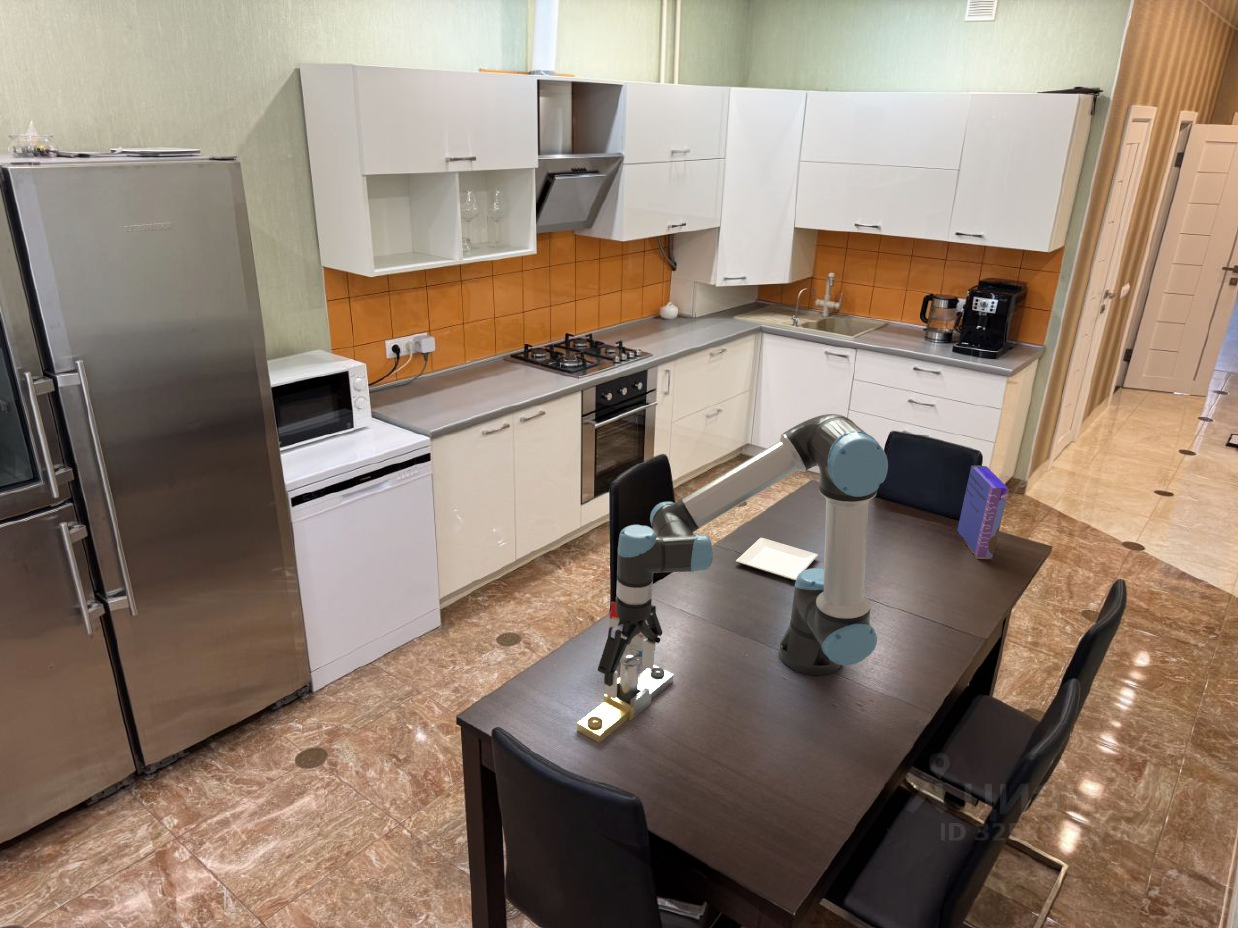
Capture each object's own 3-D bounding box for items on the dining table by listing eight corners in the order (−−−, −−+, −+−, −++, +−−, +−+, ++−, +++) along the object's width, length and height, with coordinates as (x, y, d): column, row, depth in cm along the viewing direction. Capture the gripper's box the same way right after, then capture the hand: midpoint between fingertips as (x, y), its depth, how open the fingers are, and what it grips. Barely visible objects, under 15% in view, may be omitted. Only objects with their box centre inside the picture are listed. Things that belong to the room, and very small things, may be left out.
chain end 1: (648, 705, 192) (649, 689, 190) (601, 744, 179) (602, 726, 178) (621, 692, 196) (622, 675, 194) (574, 728, 183) (574, 711, 182)
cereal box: (992, 560, 264) (1009, 488, 255) (976, 559, 264) (993, 487, 255) (971, 534, 280) (986, 465, 271) (956, 533, 280) (971, 465, 271)
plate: (817, 559, 259) (818, 553, 258) (794, 585, 244) (795, 579, 244) (759, 542, 268) (760, 536, 267) (734, 566, 253) (735, 560, 252)
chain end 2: (675, 682, 200) (677, 666, 198) (633, 718, 188) (634, 701, 186) (649, 670, 204) (650, 653, 202) (606, 703, 192) (607, 687, 190)
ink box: (646, 651, 211) (650, 599, 206) (640, 662, 207) (644, 609, 201) (614, 643, 214) (616, 591, 208) (607, 654, 209) (609, 601, 204)
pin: (643, 703, 192) (646, 655, 187) (629, 714, 188) (632, 665, 184) (625, 694, 195) (628, 646, 190) (611, 705, 191) (614, 656, 186)
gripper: (653, 568, 192) (648, 648, 201) (582, 614, 174) (579, 701, 182) (681, 579, 188) (675, 661, 196) (611, 628, 170) (608, 715, 178)
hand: (629, 680), depth 189 cm, fingers open, 13 cm apart
